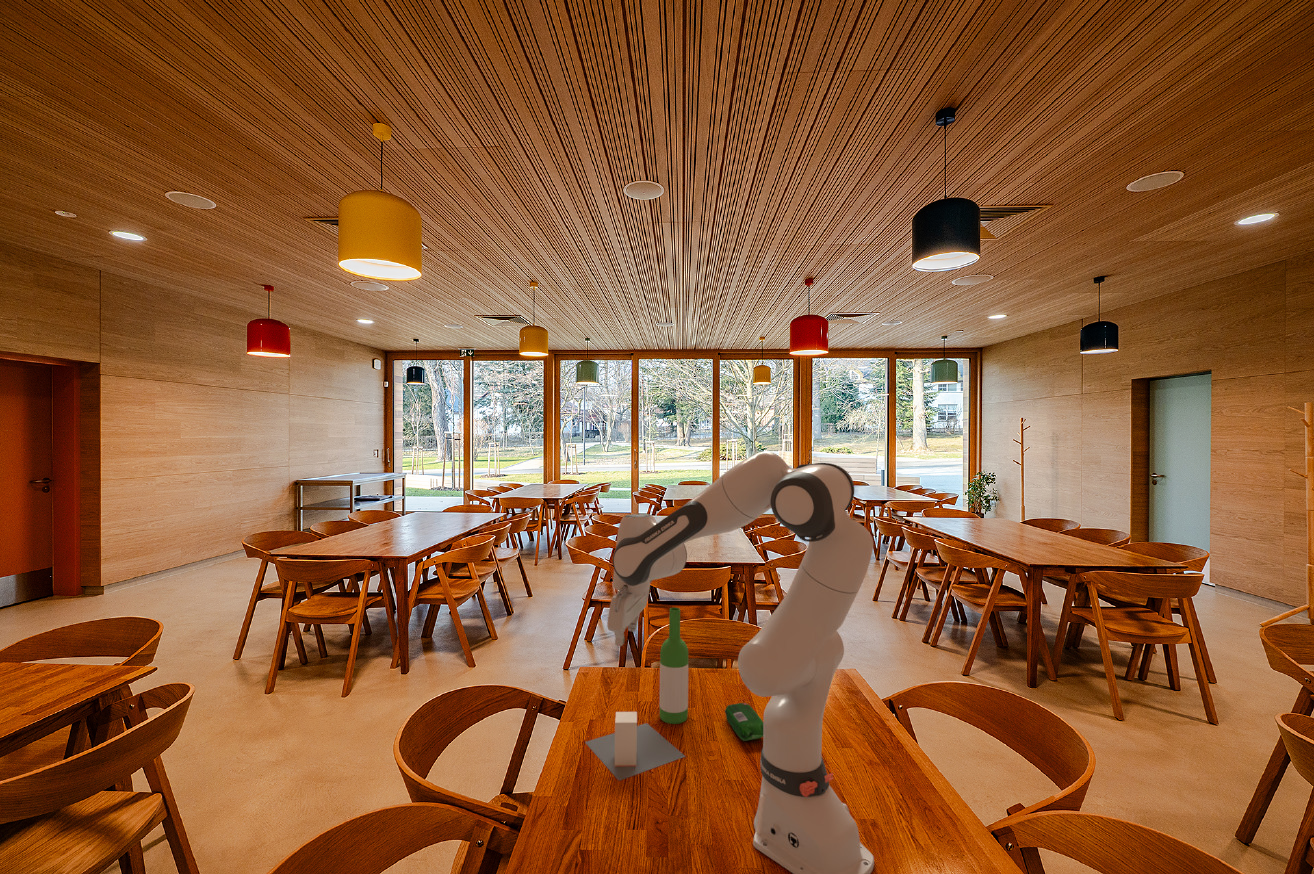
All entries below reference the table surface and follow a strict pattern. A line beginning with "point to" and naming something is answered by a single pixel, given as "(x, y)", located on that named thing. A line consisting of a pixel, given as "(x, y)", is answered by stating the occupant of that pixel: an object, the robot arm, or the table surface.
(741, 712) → the snack package
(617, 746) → the block
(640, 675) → the table surface
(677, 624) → the wine bottle
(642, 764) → the mat
